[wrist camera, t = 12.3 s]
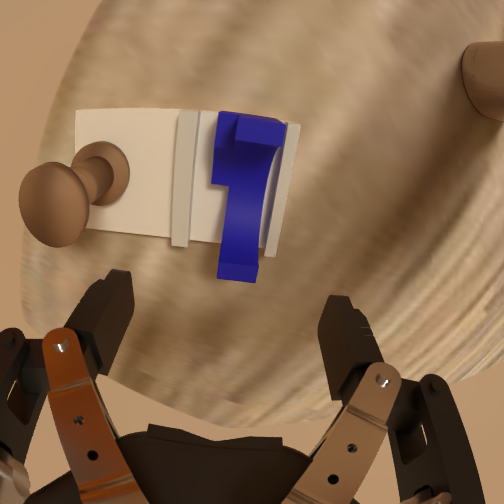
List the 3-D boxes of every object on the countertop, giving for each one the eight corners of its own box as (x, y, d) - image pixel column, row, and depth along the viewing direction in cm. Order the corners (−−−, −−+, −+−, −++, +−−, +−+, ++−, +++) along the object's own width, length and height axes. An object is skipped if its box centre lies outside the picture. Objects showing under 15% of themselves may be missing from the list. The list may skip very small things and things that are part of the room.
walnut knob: (130, 141, 23) (79, 165, 15) (130, 204, 26) (87, 252, 18) (75, 141, 22) (14, 166, 14) (77, 200, 25) (26, 243, 17)
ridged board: (295, 122, 23) (301, 124, 21) (272, 243, 29) (274, 257, 27) (82, 109, 22) (67, 111, 19) (85, 222, 28) (73, 233, 25)
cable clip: (221, 110, 22) (214, 114, 17) (276, 118, 22) (286, 124, 17) (206, 240, 28) (197, 276, 22) (253, 246, 28) (255, 283, 23)
